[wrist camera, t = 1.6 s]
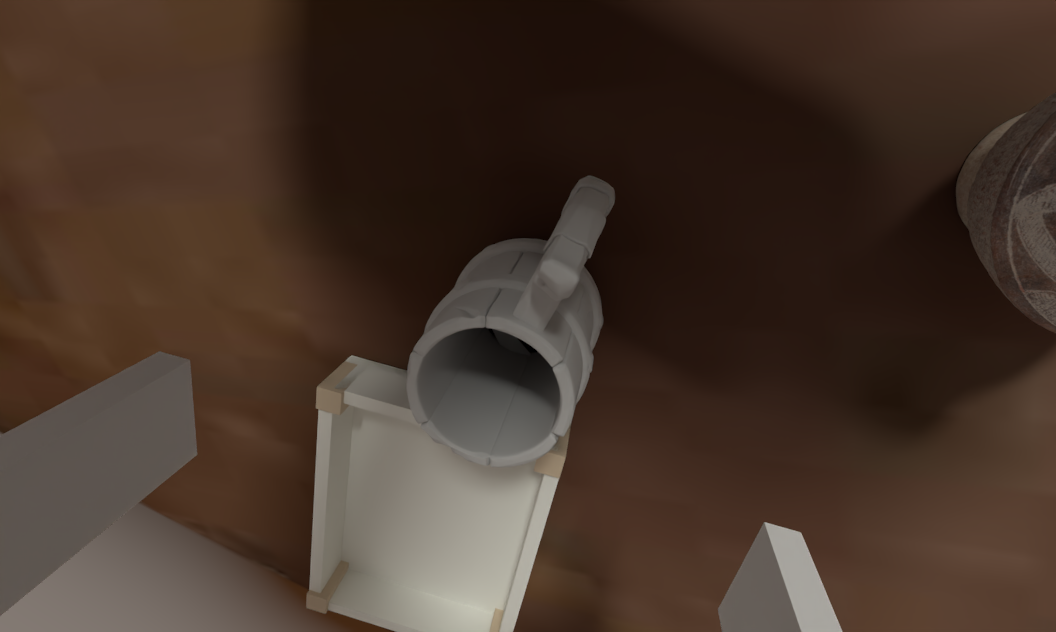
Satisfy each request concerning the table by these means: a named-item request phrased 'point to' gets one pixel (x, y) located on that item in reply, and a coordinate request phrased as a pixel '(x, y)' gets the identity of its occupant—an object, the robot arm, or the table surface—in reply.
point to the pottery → (1016, 209)
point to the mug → (514, 341)
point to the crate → (417, 515)
